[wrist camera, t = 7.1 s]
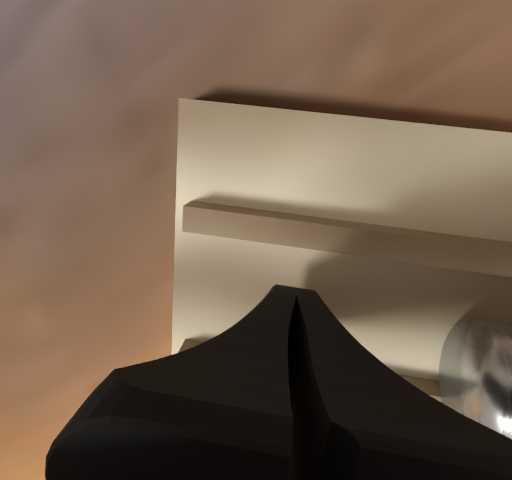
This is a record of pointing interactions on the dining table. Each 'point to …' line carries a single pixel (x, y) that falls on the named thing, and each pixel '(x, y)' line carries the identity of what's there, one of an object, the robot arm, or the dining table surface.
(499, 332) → the tube
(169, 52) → the dining table surface
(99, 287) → the dining table surface
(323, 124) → the collar rig
